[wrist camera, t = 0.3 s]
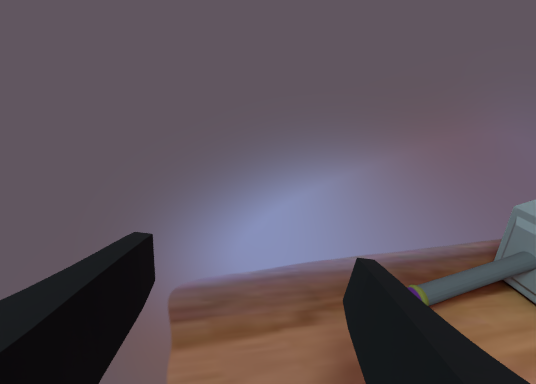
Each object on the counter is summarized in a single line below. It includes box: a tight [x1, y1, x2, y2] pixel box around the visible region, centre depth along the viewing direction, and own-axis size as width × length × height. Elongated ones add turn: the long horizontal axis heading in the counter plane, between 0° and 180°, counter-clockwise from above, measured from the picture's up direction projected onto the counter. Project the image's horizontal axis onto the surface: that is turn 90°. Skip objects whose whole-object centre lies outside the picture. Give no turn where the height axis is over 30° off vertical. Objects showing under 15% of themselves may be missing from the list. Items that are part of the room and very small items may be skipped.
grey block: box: [408, 200, 536, 306], centre depth 33 cm, size 15×8×30 cm
